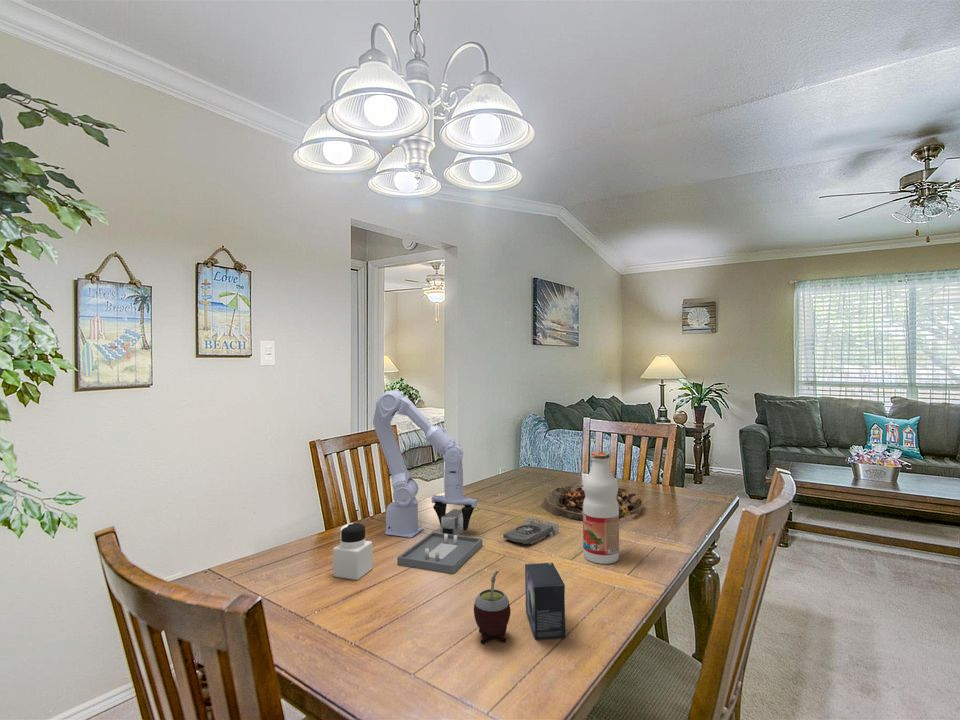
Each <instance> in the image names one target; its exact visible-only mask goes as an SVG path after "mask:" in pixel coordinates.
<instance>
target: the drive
mask: <svg viewBox="0 0 960 720" xmlns="http://www.w3.org/2000/svg"><path fill="white" fill-rule="evenodd" d="M461 509H462V508H461ZM461 509H460V508H452V509H451V510H449V511H448V512H446V514H445V515H444V516H442V517H441V526H440V530H441V532H440V533H443V534H451V535H458V536H461V534H462V533H463V532H465V530H463V515H462V510H461Z"/></svg>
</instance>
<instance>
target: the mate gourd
mask: <svg viewBox="0 0 960 720" xmlns="http://www.w3.org/2000/svg"><path fill="white" fill-rule="evenodd" d="M498 574H499V570H497V571H495V572H494V573H493V575H492V576H491V580H490V584H491V586H490V589H485V590H482V591H480V592H479V593H478V594H477V597H476V598H475V600H474V604H473V615H474V621H475V623H476V626H477V627H478V632H479V633H480V634H481V640H480V644H482V645H485V644H487V643H488V642H489V641H491V640H492V639H494V640H496V641H498V642H500V643H503V644H505V643H506V642H507V638H505V636H506V633H507V630H508V629H507V628H508V624H509V621H510V617H511V606H510V601H509V598H508V596H507V595H506V593H505V592H504V591H501V590H499V589H495V583H496V577H497V575H498Z"/></svg>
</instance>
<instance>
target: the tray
mask: <svg viewBox="0 0 960 720" xmlns="http://www.w3.org/2000/svg"><path fill="white" fill-rule="evenodd" d="M482 547H483V538H482V537H481V538H480V537H472V536H465V535H451V534H443V533H441V532H434V531H431V533H429V534H427V535H426V536H425V537H423V538H422V539H421V540H419V541H418V542H416V543H415V544H414V545H412V546H411V547H409V548H408V549H407V550H406V551H404V552H403V553H402V554H400V555H398V556H397V557H396V558H397V559H396V560H397V563H396V564H397V566H403V567H408V568H414V569H420V570H426V571H432V572H437V573H445V574H449V575H450V574H451V575H454V574H455V573H456V572H457V571H458V570H459V569H460V568H461V567H462V566H464V564H465V563H466V562H467V561H469V560H470V558H472V556H473V555H475V553H476V552H477V551H478V550H480V549H481V548H482Z"/></svg>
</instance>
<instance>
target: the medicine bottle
mask: <svg viewBox="0 0 960 720" xmlns="http://www.w3.org/2000/svg"><path fill="white" fill-rule="evenodd" d="M339 533H340V536H339V537H340V544H338V545H337V546H334V547H333V549H332V571H333V572H332V573H333V574H332V576H333V577H334V578H341V579H348V580H353V581H359V579H361V578H363V577H364V576H366V574H367V573H369V572H371V570H373V542H372V541H370V540H366V526H365V524H363V523H359V522H349V523H346V524H344V525H342V526H341V527H340V531H339Z"/></svg>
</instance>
